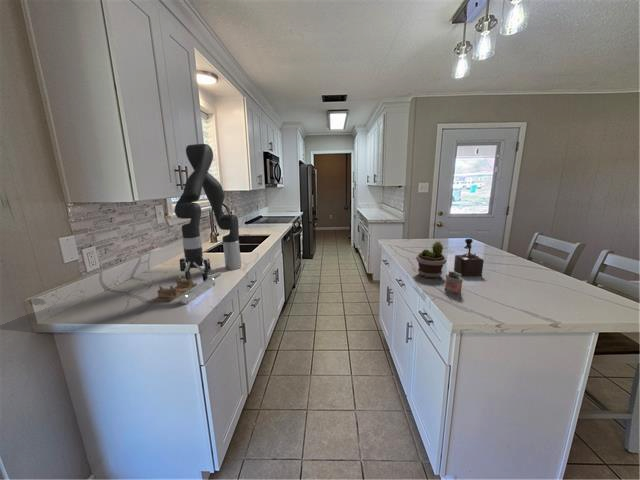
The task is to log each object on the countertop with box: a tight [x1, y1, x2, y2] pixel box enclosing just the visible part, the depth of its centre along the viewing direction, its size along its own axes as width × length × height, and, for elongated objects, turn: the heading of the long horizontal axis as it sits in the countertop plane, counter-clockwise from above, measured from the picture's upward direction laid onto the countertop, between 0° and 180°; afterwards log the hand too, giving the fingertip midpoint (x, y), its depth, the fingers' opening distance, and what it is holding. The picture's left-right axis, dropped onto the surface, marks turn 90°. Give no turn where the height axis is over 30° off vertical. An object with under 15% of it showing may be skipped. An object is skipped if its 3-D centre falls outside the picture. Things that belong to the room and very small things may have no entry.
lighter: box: [443, 270, 464, 297], centre depth 115 cm, size 8×3×10 cm, turn 23°
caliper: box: [207, 271, 223, 278], centre depth 138 cm, size 20×1×6 cm, turn 178°
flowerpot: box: [415, 239, 447, 280], centre depth 136 cm, size 14×15×20 cm
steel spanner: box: [179, 277, 216, 306], centre depth 120 cm, size 23×3×4 cm, turn 170°
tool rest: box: [153, 275, 198, 303], centre depth 122 cm, size 19×8×6 cm, turn 170°
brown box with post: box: [453, 238, 485, 278], centre depth 141 cm, size 16×11×18 cm
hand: (196, 280), depth 119 cm, fingers open, 8 cm apart
